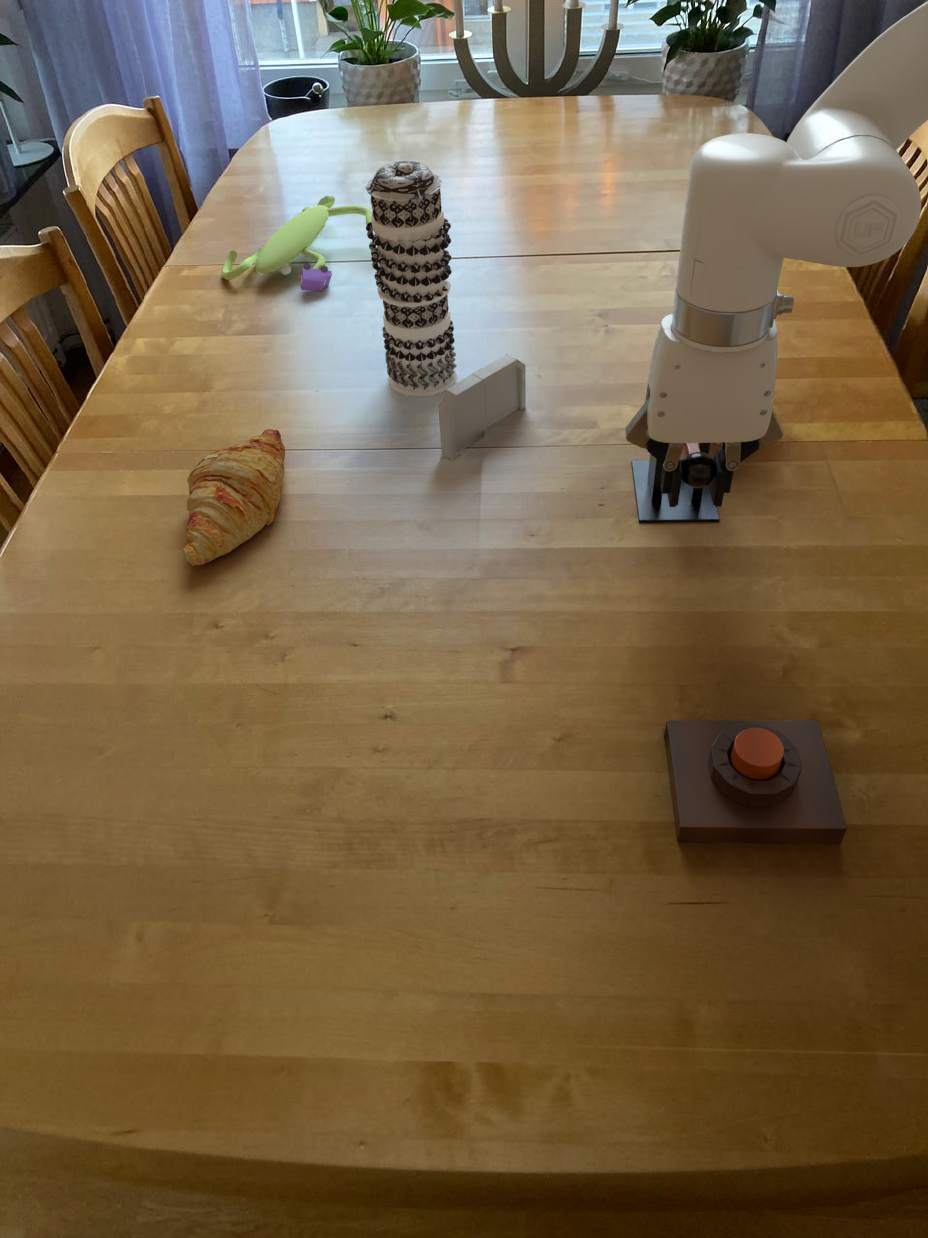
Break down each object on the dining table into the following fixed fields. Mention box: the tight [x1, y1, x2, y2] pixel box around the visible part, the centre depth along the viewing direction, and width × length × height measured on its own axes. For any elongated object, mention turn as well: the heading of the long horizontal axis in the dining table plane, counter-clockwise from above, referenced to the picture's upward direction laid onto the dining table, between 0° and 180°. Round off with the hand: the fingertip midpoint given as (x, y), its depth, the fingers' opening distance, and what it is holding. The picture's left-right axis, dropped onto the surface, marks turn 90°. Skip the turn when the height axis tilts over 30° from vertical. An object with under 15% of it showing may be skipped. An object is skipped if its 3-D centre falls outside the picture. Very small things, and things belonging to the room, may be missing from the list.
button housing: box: [663, 719, 848, 845], centre depth 74 cm, size 12×10×4 cm
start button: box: [731, 728, 784, 780], centre depth 72 cm, size 4×4×2 cm
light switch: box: [437, 353, 527, 461], centre depth 108 cm, size 2×12×8 cm, turn 135°
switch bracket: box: [630, 443, 721, 524], centre depth 97 cm, size 10×8×12 cm
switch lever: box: [681, 443, 716, 488], centre depth 90 cm, size 13×3×3 cm, turn 177°
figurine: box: [220, 195, 374, 292], centre depth 142 cm, size 18×27×6 cm
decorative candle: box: [365, 160, 458, 398], centre depth 110 cm, size 9×9×25 cm
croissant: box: [183, 428, 286, 567], centre depth 101 cm, size 21×10×8 cm, turn 166°
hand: (693, 495), depth 88 cm, fingers closed on switch lever, 3 cm apart
